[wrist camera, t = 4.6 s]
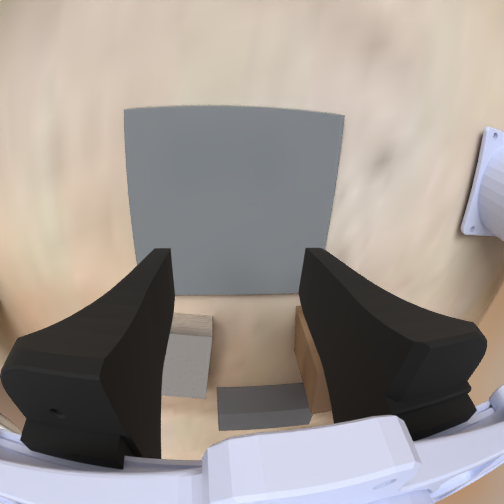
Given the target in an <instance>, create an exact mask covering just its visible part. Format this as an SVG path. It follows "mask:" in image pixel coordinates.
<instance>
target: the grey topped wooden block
mask: <svg viewBox="0 0 504 504" xmlns="http://www.w3.org/2000/svg"><path fill="white" fill-rule="evenodd" d="M211 345H212V316H206V315H193V314H182V313H173V320H172V325H171V330H170V335H169V340H168V345H167V350H166V355H165V361H164V367H163V375H162V393H161V395H166V396H177V397H189V398H205V399H206V391H207V381H208V372H209V363H210V354H211Z"/></svg>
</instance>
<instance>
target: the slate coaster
mask: <svg viewBox="0 0 504 504" xmlns="http://www.w3.org/2000/svg"><path fill="white" fill-rule="evenodd" d="M344 117H345V115H341V114H335V113H327V112H319V111H310V110H300V109H288V108H275V107H259V106H234V105H182V106H157V107H141V108H128V109H124V132H125V154H126V169H127V183H128V194H129V205H130V214H131V223H132V231H133V239H134V247H135V254H136V261H137V265H138V264H139V263H140V262H141V261H142V260H143V259H144V258H145V257H146V256H147V255H148V254H149V253H150V252H151V251H152V250H153V249H154V248H171V257H172V268H173V279H174V289H175V295H248V294H290V293H299V292H298V291H299V285H300V279H301V273H302V267H303V261H304V254H305V248H322V249H324V250H325V246H326V240H327V235H328V229H329V223H330V217H331V211H332V205H333V199H334V192H335V186H336V179H337V172H338V165H339V157H340V150H341V142H342V134H343V125H344Z"/></svg>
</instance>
